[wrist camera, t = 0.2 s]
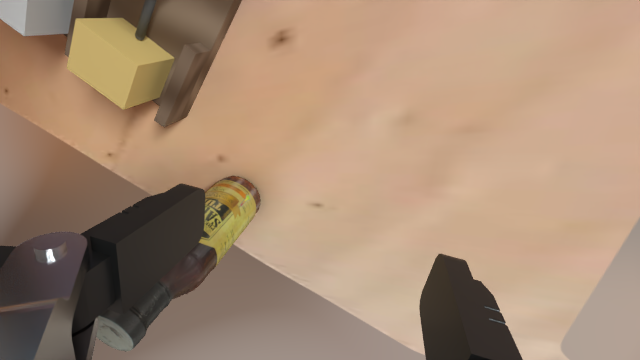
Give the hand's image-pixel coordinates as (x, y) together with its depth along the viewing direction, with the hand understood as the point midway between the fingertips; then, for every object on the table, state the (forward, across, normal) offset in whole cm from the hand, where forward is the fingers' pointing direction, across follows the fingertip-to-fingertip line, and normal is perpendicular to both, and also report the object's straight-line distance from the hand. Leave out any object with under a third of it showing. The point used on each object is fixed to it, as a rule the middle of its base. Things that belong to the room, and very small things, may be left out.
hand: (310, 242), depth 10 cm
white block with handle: (+19, +31, -10) cm, 38 cm away
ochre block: (+20, +21, -6) cm, 30 cm away
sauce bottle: (+24, +13, +13) cm, 30 cm away
